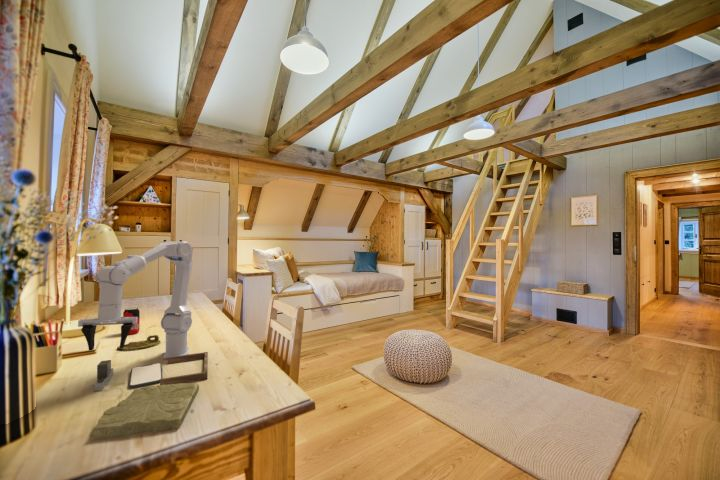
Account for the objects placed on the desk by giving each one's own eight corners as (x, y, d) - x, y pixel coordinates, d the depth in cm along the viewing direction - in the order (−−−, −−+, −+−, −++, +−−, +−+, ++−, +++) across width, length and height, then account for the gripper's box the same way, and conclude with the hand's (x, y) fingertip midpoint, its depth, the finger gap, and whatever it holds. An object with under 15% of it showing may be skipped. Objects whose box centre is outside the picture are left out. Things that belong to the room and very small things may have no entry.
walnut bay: (167, 362, 115) (167, 357, 115) (207, 357, 121) (207, 351, 121) (159, 386, 96) (159, 380, 96) (207, 378, 102) (207, 372, 102)
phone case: (163, 384, 99) (161, 366, 112) (163, 379, 99) (161, 362, 112) (128, 392, 94) (130, 372, 108) (128, 386, 94) (131, 367, 108)
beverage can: (142, 332, 153) (142, 307, 154) (130, 335, 147) (130, 310, 147) (132, 331, 155) (132, 306, 155) (119, 334, 149) (119, 309, 149)
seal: (116, 356, 124) (161, 349, 133) (116, 345, 124) (161, 338, 133) (117, 347, 132) (159, 340, 141) (117, 336, 132) (159, 330, 140)
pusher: (104, 376, 104) (104, 356, 104) (114, 375, 105) (114, 355, 105) (92, 392, 93) (92, 370, 93) (103, 391, 94) (103, 369, 94)
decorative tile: (199, 391, 94) (199, 379, 94) (180, 430, 75) (180, 415, 75) (127, 399, 89) (127, 387, 89) (86, 443, 70) (86, 427, 70)
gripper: (75, 306, 93) (71, 354, 92) (135, 305, 99) (132, 349, 98) (84, 303, 99) (80, 348, 98) (139, 302, 105) (136, 344, 104)
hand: (106, 348), depth 99 cm, fingers open, 7 cm apart
